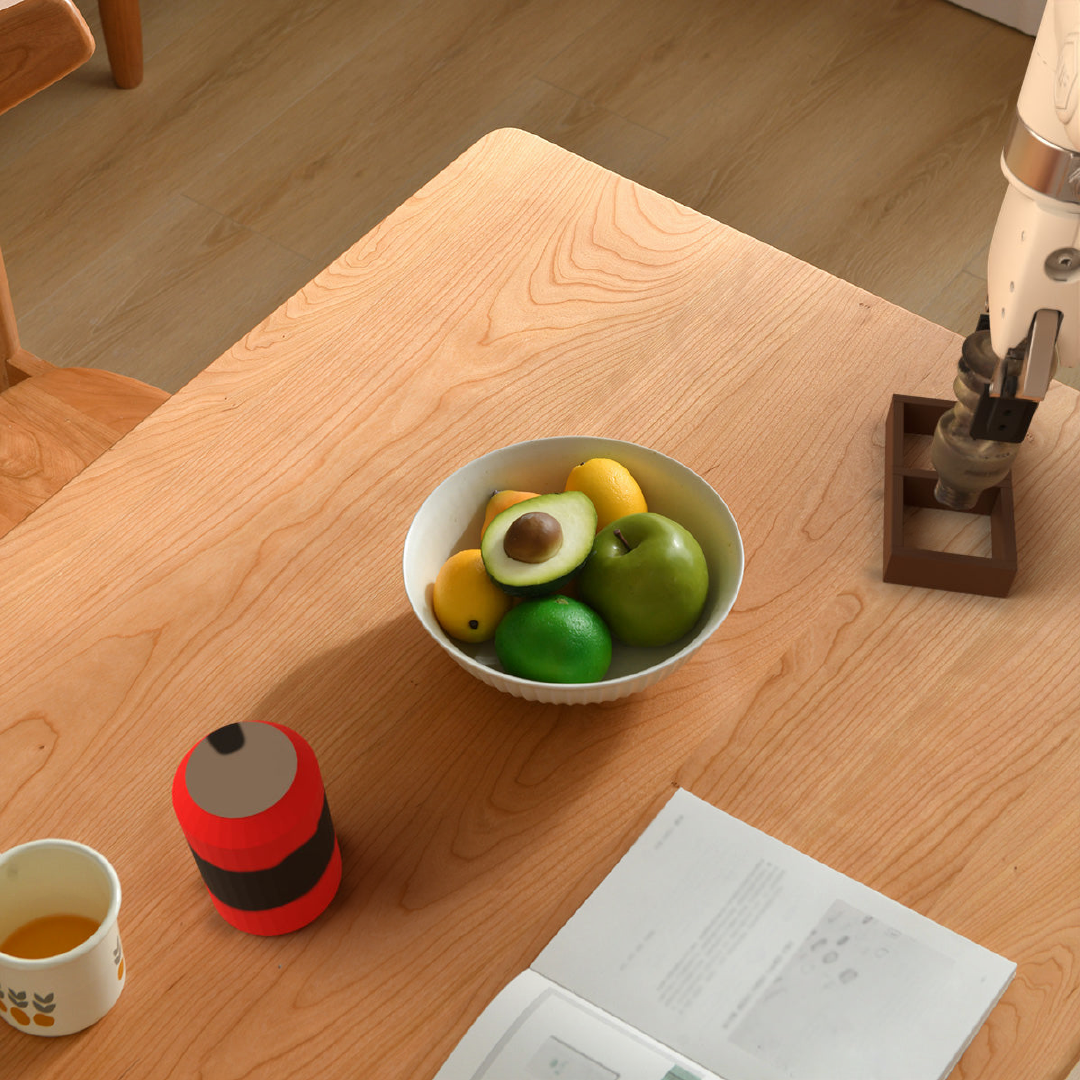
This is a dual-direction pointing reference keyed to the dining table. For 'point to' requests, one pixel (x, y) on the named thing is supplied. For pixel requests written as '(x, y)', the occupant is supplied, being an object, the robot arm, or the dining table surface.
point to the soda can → (259, 826)
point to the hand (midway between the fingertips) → (993, 400)
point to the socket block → (919, 491)
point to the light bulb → (953, 450)
